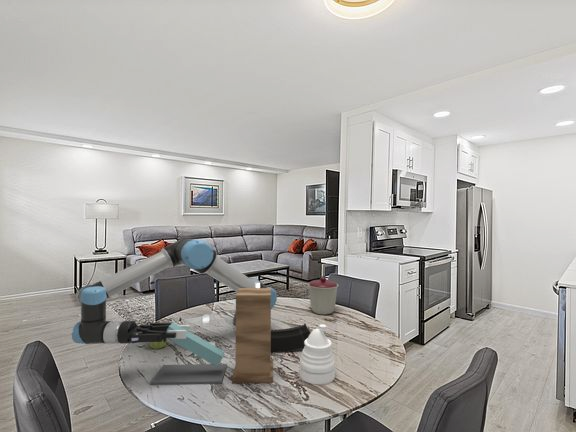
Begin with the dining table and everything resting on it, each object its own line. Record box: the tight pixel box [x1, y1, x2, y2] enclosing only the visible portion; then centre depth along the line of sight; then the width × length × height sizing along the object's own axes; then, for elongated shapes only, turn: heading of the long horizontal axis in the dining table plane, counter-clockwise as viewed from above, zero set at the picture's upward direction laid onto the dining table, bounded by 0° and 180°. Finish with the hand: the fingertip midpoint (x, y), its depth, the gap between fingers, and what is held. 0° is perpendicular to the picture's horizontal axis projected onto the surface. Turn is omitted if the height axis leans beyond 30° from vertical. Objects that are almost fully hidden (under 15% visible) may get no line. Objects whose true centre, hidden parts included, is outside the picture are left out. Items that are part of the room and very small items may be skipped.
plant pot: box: [149, 338, 168, 350], centre depth 132 cm, size 9×9×9 cm
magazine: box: [271, 323, 312, 354], centre depth 128 cm, size 17×3×30 cm
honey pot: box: [299, 324, 336, 386], centre depth 110 cm, size 13×13×18 cm
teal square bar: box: [166, 322, 226, 367], centre depth 109 cm, size 4×22×4 cm, turn 92°
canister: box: [307, 275, 340, 316], centre depth 179 cm, size 18×18×21 cm
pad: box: [149, 363, 228, 386], centre depth 109 cm, size 12×24×1 cm, turn 92°
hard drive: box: [193, 340, 216, 359], centre depth 128 cm, size 2×8×12 cm
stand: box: [231, 287, 274, 384], centre depth 110 cm, size 12×14×30 cm
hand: (187, 331), depth 109 cm, fingers closed on teal square bar, 4 cm apart
